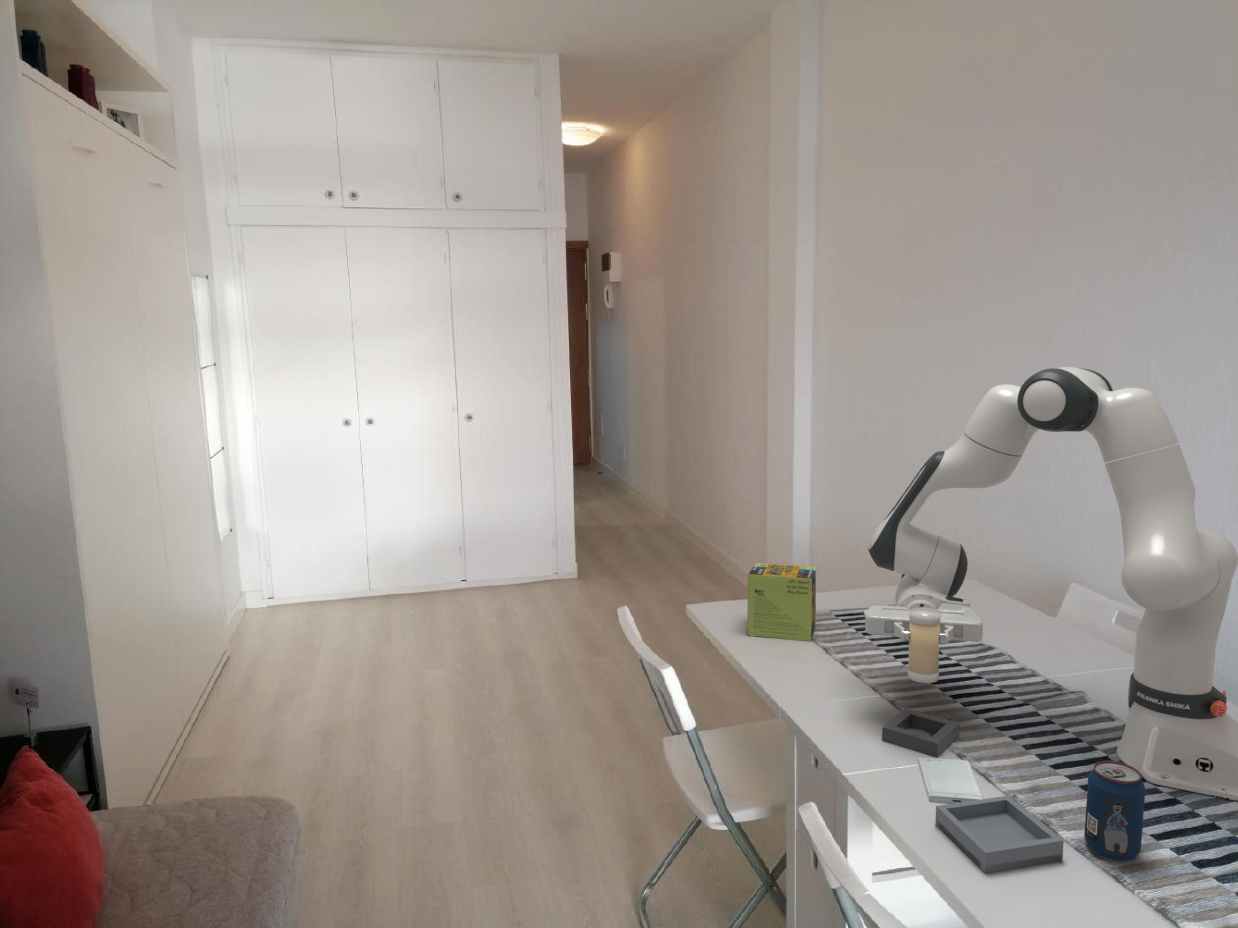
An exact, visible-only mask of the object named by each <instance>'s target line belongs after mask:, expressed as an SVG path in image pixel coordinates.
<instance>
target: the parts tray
mask: <svg viewBox="0 0 1238 928" xmlns="http://www.w3.org/2000/svg"><path fill="white" fill-rule="evenodd" d="M934 824H935V826H936V827H937V828H938V829H939V830H940V831H941V832H942V833H943V834H944V835H945V836H946V837H947V838H948V839H949V840H950V841H951V842H952V843H953V844H954V845H955V846H956V847H957V848H958V849H960V851H962V852H963V854H964V855H966V857H968V858H969V859H970V861H972V863H974V865H975V866H977V867H978V869H980V870H981V872H983V874H988V873H989V874H990V873H995V872H1000V871H1007V870H1012V869H1013V870H1014V869H1018V868H1020V869H1021V868H1024V867H1031V866H1039V865H1044V864H1050V863H1055V862H1062V861H1063V859H1064V858H1063V856H1064V839H1062V838H1061V837H1060V836H1059V835H1058V834H1057V833H1055V832H1054V831H1053V830H1052V829H1050V828H1049V827H1048V826H1046V825H1045V824H1044V823H1043V822H1042V821H1040V820H1039V819H1037V817H1035V816H1034V815H1033V814H1032V813H1030V812H1029V811H1028V810H1027V809H1025V808H1024V807H1023V805H1021V804H1019V803H1018V802H1017V801H1016V800H1014V799H1013V798H1012V797H1011V796H1010V795H1004V796H1003V795H1001V796H996V797H989V798H984V799H981V800H974V801H967V802H960V803H946V804H941V805H935V823H934Z"/></svg>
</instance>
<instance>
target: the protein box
mask: <svg viewBox="0 0 1238 928" xmlns="http://www.w3.org/2000/svg"><path fill="white" fill-rule="evenodd" d="M816 581H817V566H811V565H810V566H809V565H808V566H807V565H793V564H791V565H790V564H776V563H775V564H774V563H773V564H772V563H759V562H758V563H754V564H753V567H752V568H751V569H750V571H749V572H748V573H747V622H746V623H747V624H746V625H747V631H746V633H747V634H746V635H747V636H748V635H754V636H753V637H757V636H763V637H762V638H768V637H773V638H772V639H779V638H781V640H790V639H791V640H793V641H800V642H802V641H803V642H804V641H805V642H812V640H813V637H812V636H814V634H815V630H816V625H817V624H816V623H817V622H816V617H817V615H816V614H817V613H816V612H817V609H816V608H817V607H816V606H817V603H816V601H817V599H816V596H817V595H816V593H817V592H816V591H817V582H816ZM813 633H814V634H813Z"/></svg>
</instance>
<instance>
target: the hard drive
mask: <svg viewBox="0 0 1238 928" xmlns="http://www.w3.org/2000/svg"><path fill="white" fill-rule="evenodd" d="M917 760H918V761H917V763H918V764H917V765H918V767H919V771H920V775H921V778H922V781H923V785H924V789H925V792H926V795H927V799H928V802H930V803H931V802H932V803H940V804H941V803H943V804H953V803H960V802H967V801H974V800H981V799H985V798H984V796H983V793H982V791H981V789H980V786H979V784H978V783H979V782H978V781H977V777H976V775H975V773H974V770H973V768H972V766H971V763H970V761H968V760H966V759H965V760H964V759H950V758H938V757H935V758H934V757H933V758H932V757H918V759H917Z"/></svg>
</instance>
